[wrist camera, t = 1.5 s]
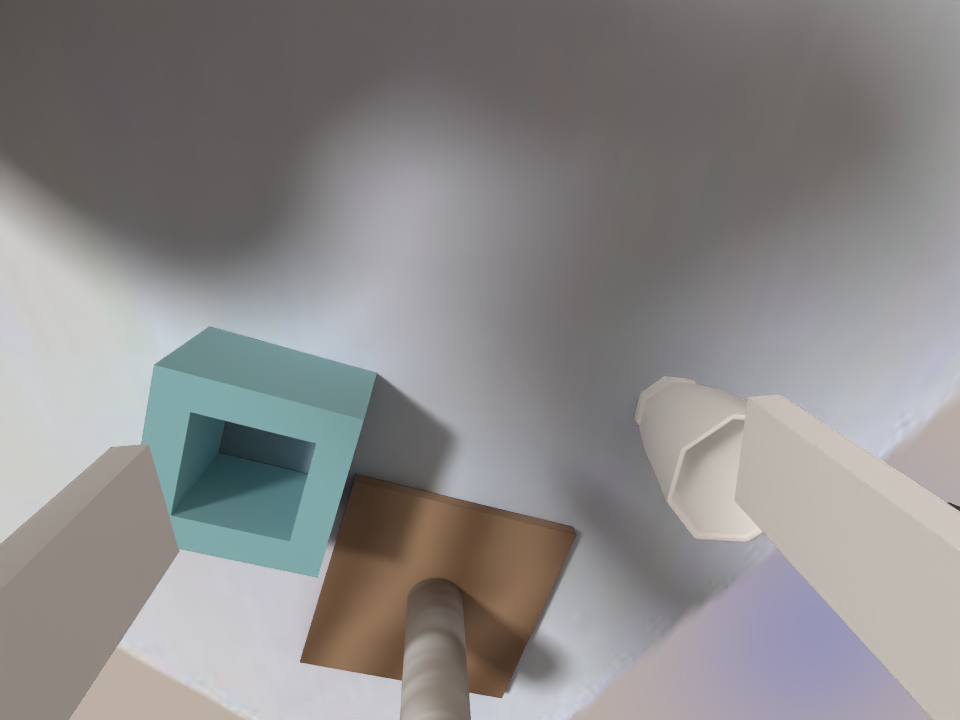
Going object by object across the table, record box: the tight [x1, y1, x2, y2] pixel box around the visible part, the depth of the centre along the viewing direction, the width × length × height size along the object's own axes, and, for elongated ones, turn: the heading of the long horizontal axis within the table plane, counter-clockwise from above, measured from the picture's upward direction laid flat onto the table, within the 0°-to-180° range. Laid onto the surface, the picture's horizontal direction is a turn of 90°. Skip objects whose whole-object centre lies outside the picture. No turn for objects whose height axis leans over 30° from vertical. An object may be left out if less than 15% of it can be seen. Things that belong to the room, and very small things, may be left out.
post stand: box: [300, 474, 576, 720], centre depth 31 cm, size 14×14×10 cm
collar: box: [141, 327, 377, 577], centre depth 28 cm, size 9×9×6 cm
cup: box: [634, 376, 763, 542], centre depth 29 cm, size 7×10×8 cm
